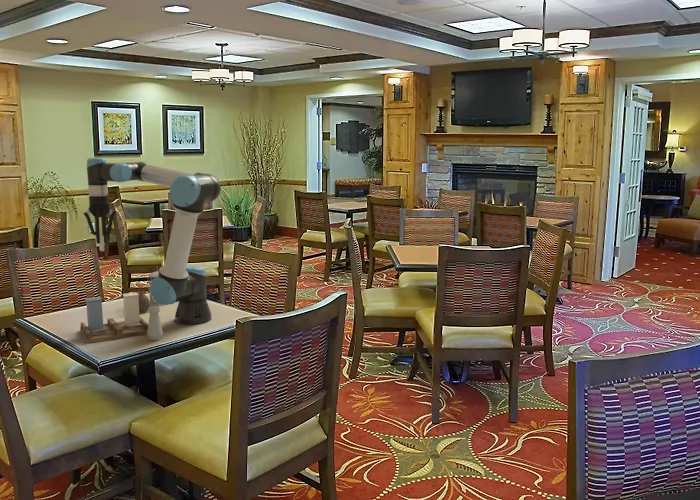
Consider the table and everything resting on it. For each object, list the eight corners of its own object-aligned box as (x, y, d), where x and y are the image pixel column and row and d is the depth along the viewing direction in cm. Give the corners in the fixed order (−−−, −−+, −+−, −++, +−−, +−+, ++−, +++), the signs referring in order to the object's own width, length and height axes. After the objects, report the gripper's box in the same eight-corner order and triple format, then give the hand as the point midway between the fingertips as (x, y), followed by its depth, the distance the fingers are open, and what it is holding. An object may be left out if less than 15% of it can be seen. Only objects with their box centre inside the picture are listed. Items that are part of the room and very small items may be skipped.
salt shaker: (154, 342, 237) (152, 309, 235) (144, 339, 240) (142, 307, 238) (166, 338, 242) (164, 305, 240) (156, 335, 245) (154, 303, 243)
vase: (153, 311, 280) (152, 292, 279) (141, 314, 275) (140, 295, 273) (143, 308, 284) (142, 290, 283) (130, 312, 278) (129, 293, 277)
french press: (157, 307, 287) (154, 253, 283) (140, 303, 293) (138, 251, 289) (174, 302, 295) (171, 250, 291) (157, 299, 301) (155, 248, 297)
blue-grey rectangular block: (87, 329, 246) (85, 298, 244) (102, 327, 249) (99, 296, 247) (89, 332, 243) (87, 300, 241) (104, 330, 246) (102, 299, 243)
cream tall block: (124, 324, 254) (122, 294, 252) (137, 322, 257) (136, 292, 254) (126, 327, 250) (124, 296, 248) (140, 325, 253) (138, 294, 251)
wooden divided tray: (80, 330, 251) (79, 322, 250) (138, 322, 263) (138, 314, 262) (88, 343, 236) (88, 334, 235) (150, 333, 248) (149, 325, 247)
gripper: (112, 193, 267) (116, 248, 272) (80, 195, 261) (84, 250, 265) (116, 195, 261) (120, 250, 265) (83, 196, 254) (87, 253, 258)
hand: (102, 250), depth 265 cm, fingers closed
